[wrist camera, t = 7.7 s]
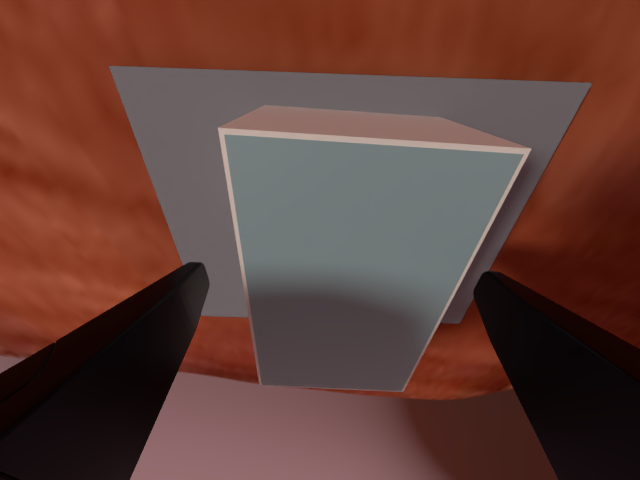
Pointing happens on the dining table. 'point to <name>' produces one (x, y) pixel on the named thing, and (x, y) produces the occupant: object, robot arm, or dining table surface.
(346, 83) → the mat
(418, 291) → the card box
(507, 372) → the robot arm
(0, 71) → the dining table surface
